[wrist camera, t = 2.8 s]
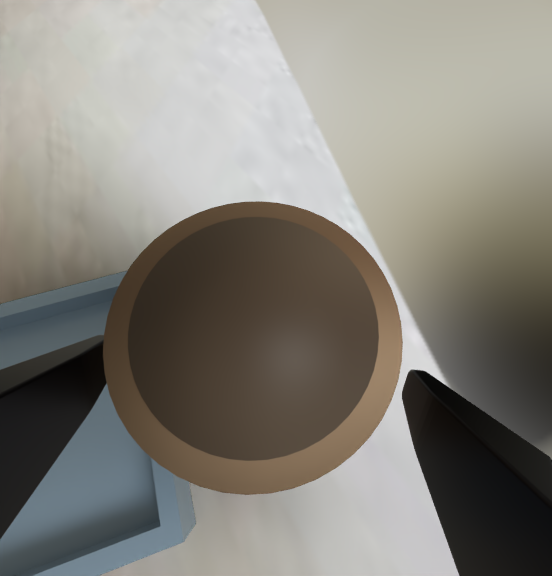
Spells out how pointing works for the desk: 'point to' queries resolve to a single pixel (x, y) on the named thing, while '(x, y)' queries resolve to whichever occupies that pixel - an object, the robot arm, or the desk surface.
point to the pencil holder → (252, 348)
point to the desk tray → (87, 460)
